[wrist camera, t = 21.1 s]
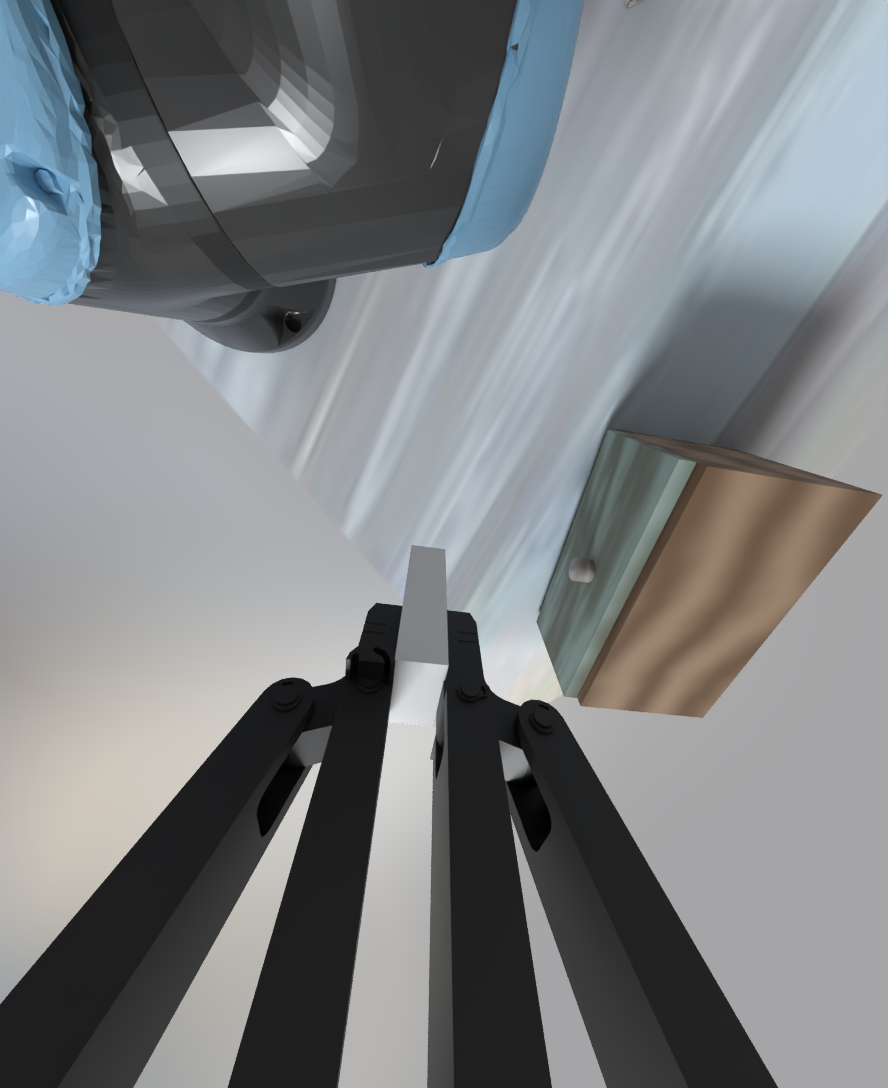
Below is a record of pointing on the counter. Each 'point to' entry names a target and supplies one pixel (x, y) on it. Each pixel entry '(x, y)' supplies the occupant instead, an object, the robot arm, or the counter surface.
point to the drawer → (607, 550)
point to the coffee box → (631, 3)
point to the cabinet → (719, 578)
